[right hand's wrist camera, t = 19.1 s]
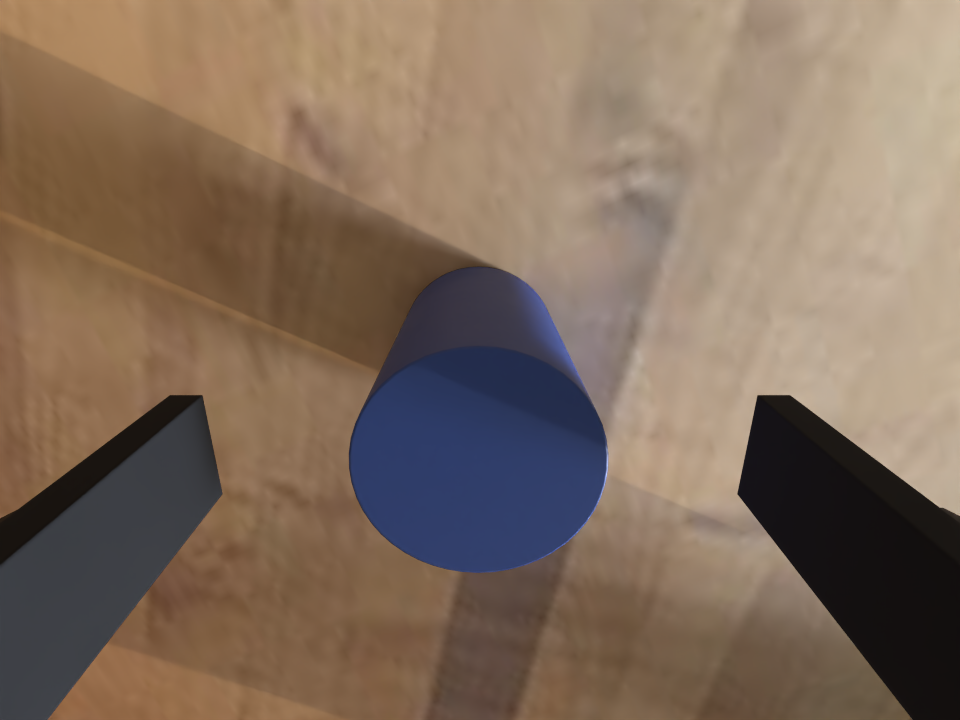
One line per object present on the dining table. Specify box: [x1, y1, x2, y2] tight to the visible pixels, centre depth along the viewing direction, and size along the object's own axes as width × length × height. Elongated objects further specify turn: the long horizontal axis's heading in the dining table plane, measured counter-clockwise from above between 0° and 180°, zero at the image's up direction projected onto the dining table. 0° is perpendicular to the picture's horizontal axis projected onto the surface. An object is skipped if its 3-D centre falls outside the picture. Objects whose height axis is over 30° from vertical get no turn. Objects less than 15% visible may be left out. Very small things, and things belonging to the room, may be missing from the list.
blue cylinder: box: [349, 267, 608, 573], centre depth 17 cm, size 6×6×10 cm
